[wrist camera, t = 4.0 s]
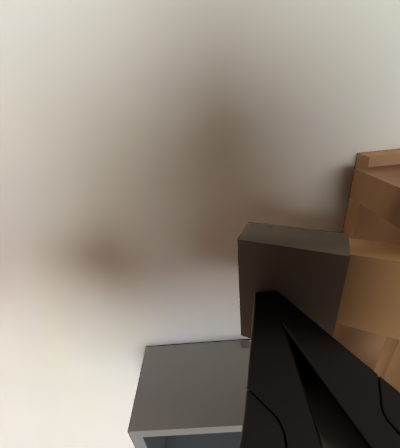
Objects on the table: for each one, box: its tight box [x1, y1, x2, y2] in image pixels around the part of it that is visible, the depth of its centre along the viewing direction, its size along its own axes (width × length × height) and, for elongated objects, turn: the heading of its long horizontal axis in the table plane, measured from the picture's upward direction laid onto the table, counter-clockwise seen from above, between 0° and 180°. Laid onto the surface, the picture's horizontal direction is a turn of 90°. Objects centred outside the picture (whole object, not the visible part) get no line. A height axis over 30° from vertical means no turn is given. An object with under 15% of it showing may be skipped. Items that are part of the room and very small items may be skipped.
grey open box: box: [128, 339, 250, 448], centre depth 15 cm, size 7×7×4 cm
